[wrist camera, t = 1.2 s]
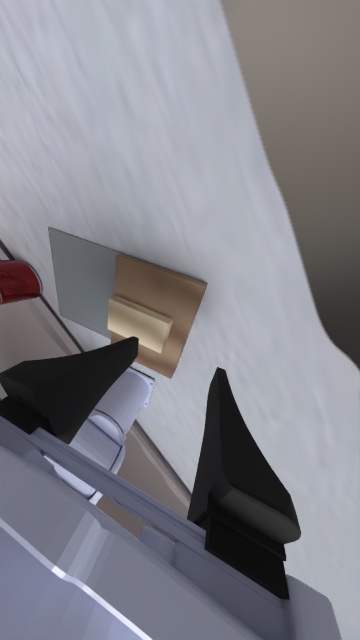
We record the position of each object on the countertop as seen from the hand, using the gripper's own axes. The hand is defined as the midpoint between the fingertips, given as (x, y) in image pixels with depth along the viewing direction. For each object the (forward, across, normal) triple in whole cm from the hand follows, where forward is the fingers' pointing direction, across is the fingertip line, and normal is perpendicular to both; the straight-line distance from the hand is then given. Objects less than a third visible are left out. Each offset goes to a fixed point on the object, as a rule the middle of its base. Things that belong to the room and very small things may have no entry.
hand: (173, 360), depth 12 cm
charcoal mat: (+9, +20, +1) cm, 22 cm away
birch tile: (+7, +8, +2) cm, 10 cm away
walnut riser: (+10, +7, +2) cm, 12 cm away
